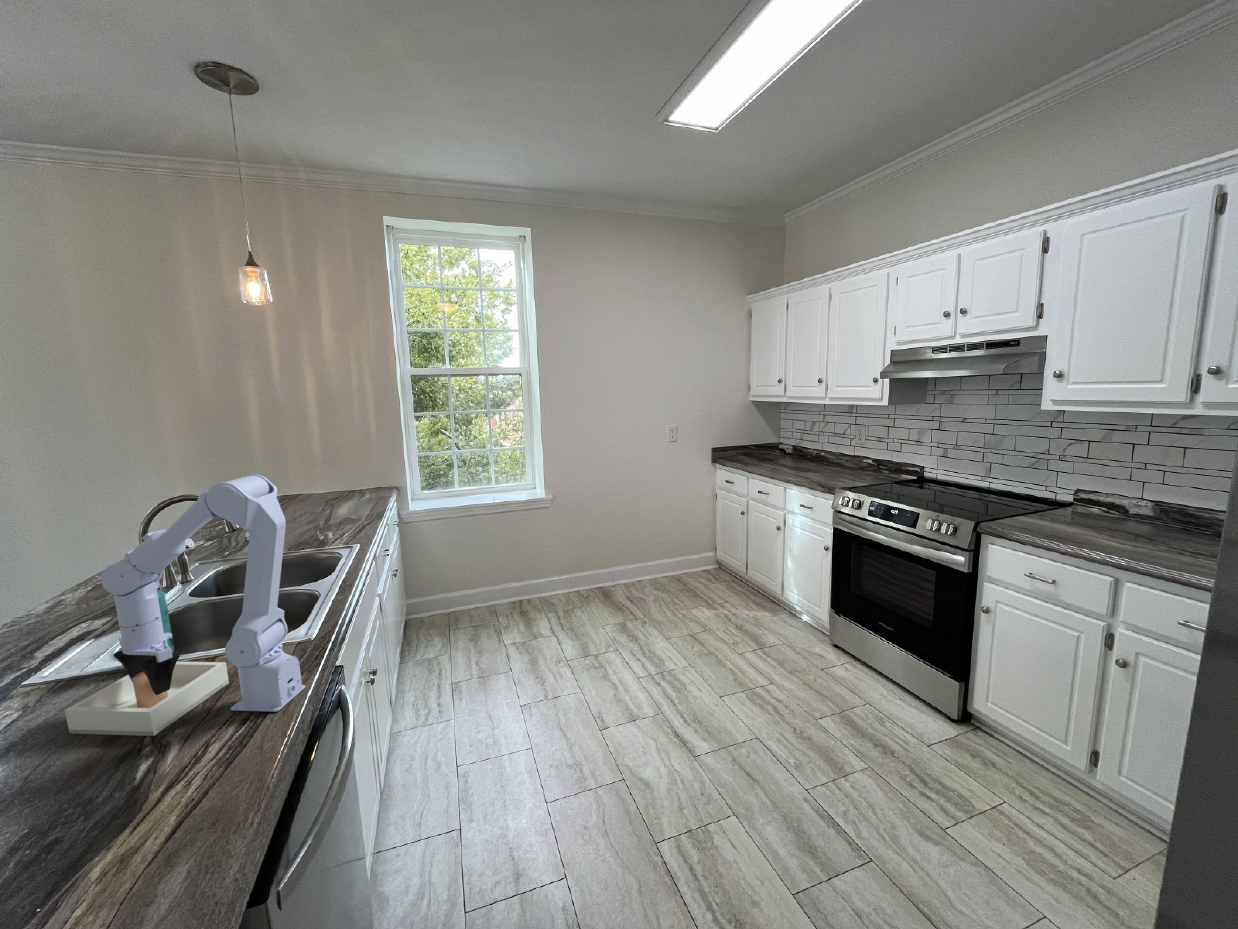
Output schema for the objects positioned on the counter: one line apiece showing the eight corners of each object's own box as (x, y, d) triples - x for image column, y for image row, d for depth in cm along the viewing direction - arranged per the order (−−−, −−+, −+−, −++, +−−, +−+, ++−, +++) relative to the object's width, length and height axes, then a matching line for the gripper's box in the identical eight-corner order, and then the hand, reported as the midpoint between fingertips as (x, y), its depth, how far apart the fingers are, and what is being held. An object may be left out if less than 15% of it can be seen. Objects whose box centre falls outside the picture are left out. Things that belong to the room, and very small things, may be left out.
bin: (228, 683, 104) (225, 662, 104) (154, 736, 89) (149, 712, 88) (156, 681, 105) (152, 661, 105) (69, 733, 90) (64, 710, 89)
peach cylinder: (168, 703, 96) (163, 675, 95) (136, 713, 94) (131, 684, 93) (168, 693, 100) (164, 665, 99) (138, 702, 97) (133, 673, 96)
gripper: (187, 618, 95) (197, 684, 97) (147, 605, 101) (158, 668, 103) (139, 635, 88) (151, 705, 91) (100, 620, 95) (112, 686, 97)
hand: (152, 687), depth 96 cm, fingers open, 7 cm apart
